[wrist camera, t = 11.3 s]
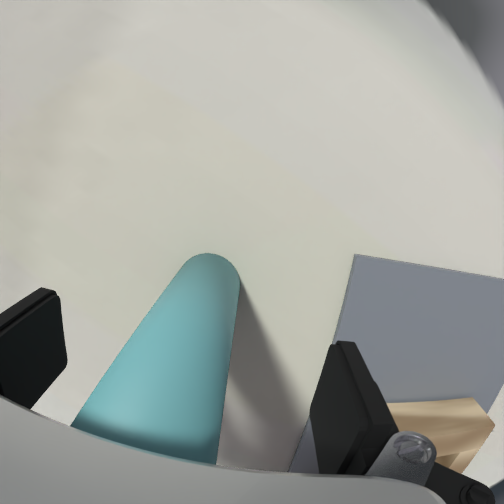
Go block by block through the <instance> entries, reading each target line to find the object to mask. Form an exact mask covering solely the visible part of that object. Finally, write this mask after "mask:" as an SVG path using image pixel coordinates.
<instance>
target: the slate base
mask: <svg viewBox="0 0 504 504" xmlns="http://www.w3.org/2000/svg"><path fill="white" fill-rule="evenodd" d="M338 340H339V341H351V342H355V343H356V345H357V347H358V349H359V351H360V353H361V355H362V357H363V359H364V361H365V363H366V365H367V368H368V370H369V372H370V374H371V376H372V378H373V380H374V381H375V382H376V383H377V385H378V387H379V389H380V391H381V393H382V395H383V397H384V399H385V401H386V403H406V402H425V401H439V400H451V399H461V398H470V397H473V398H474V399H475V401H476V402H477V403H478V404H479V405H480V407H481V408H482V409H483V410H484V411H485V413H486V414H487V413H488V411H489V410H490V408H491V406H492V404H493V402H494V401H495V399H496V397H497V395H498V393H499V391H500V389H501V387H502V386H503V384H504V279H501V278H495V277H490V276H484V275H478V274H472V273H467V272H461V271H455V270H449V269H443V268H437V267H431V266H425V265H419V264H413V263H407V262H401V261H395V260H389V259H383V258H377V257H371V256H364V255H358V254H354V259H353V263H352V268H351V272H350V277H349V281H348V285H347V289H346V293H345V297H344V301H343V305H342V309H341V313H340V317H339V320H338V324H337V328H336V331H335V335H334V339H333V342H332V344H335V343H336V342H337V341H338ZM288 472H289V473H309V474H319V469H318V463H317V456H316V450H315V444H314V438H313V432H312V426H311V421H310V415H309V418H308V421H307V424H306V426H305V429H304V432H303V435H302V438H301V440H300V443H299V446H298V448H297V451H296V453H295V456H294V459H293V461H292V464H291V466H290V469H289V471H288Z"/></svg>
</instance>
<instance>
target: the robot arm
mask: <svg viewBox="0 0 504 504" xmlns="http://www.w3.org/2000/svg"><path fill="white" fill-rule="evenodd" d="M66 365H67V353H66V346H65V339H64V331H63V323H62V313H61V302H60V298H59V296H57V293H56V292H55V291H53V290H50V289H46V288H42V287H41V288H39V289H38V290H36V291H34V292H33V293H31V294H30V295H28V296H27V297H25V298H24V299H22V300H20V301H19V302H17V303H16V304H14V305H13V306H11V307H10V308H8V309H7V310H5V311H4V312H2V313H1V314H0V504H495V499H494V495H493V493H492V491H491V490H490V489H489V488H488V487H487V486H486V485H484V484H482V483H481V482H478V481H476V480H474V479H471V478H469V477H467V476H465V475H462V474H460V473H458V472H456V471H454V470H452V469H449V468H447V467H445V466H443V465H441V464H439V463H437V462H435V460H436V456H437V451H436V447H435V446H434V444H433V442H432V441H431V440H430V439H428V438H427V437H426V436H424V435H422V434H420V433H417V432H414V431H401V432H399V429H398V427H397V425H396V423H395V421H394V419H393V416H392V414H391V412H390V410H389V408H388V406H387V404H386V401H385V399H384V397H383V395H382V393H381V391H380V389H379V387H378V385H377V383H376V382H375V381H374V380H373V378H372V376H371V374H370V372H369V370H368V368H367V365H366V363H365V361H364V359H363V357H362V355H361V353H360V351H359V349H358V347H357V345H356V343H355V342H351V341H339V340H338V341H337V342H336V343H335V344H331V345H330V347H329V350H328V353H327V356H326V360H325V363H324V366H323V369H322V373H321V376H320V379H319V382H318V385H317V388H316V391H315V394H314V397H313V400H312V403H311V406H310V421H311V426H312V432H313V438H314V444H315V450H316V456H317V463H318V469H319V474H309V473H289V472H274V471H263V470H253V469H244V468H236V467H228V466H221V465H215V464H208V463H202V462H197V461H192V460H186V459H181V458H177V457H172V456H168V455H163V454H159V453H155V452H151V451H147V450H143V449H139V448H135V447H132V446H128V445H125V444H121V443H118V442H115V441H111V440H108V439H105V438H102V437H99V436H96V435H93V434H90V433H87V432H84V431H82V430H79V429H76V428H73V427H71V426H68V425H66V424H63V423H61V422H58V421H56V420H53V419H51V418H48V417H46V416H44V415H41V414H39V413H37V412H34V411H32V410H30V409H31V408H32V407H33V406H34V404H35V403H36V402H37V401H38V399H39V398H40V397H41V396H42V395H43V393H44V392H45V391H46V390H47V389H48V388H49V386H50V385H51V384H52V383H53V382H54V381H55V379H56V378H57V377H58V376H59V375H60V374H61V372H62V371H63V370H64V369H65V368H66Z"/></svg>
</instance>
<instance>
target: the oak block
mask: <svg viewBox="0 0 504 504" xmlns="http://www.w3.org/2000/svg"><path fill="white" fill-rule="evenodd" d="M386 404H387V406H388V408H389V410H390V412H391V414H392V416H393V419H394V421H395V423H396V425H397V427H398V429H399V432H401V431H414V432H417V433H420V434H422V435H424V436H426V437H427V438H428V439H430V440H431V441H432V442H433V444H434V446H435V447H436V451H437V456H436V460H435V462H437V463H439V464H441V465H443V466H445V467H447V468H449V469H452V470H454V471H456V472H458V473H460V474H462V472H463V471H464V470H465V468H466V467H467V466H468V464H469V463H470V462H471V460H472V459H473V458H474V456H475V455H476V453H477V452H478V451H479V449H480V448H481V446H482V445H483V443H484V442H485V440H486V439H487V437H488V436H489V434H490V433H491V431H492V430H493V428H494V427H495V424H494V423H493V421H492V420H491V419H490V418H489V416H488V415H487V414H486V413H485V411H484V410H483V409H482V408H481V407H480V405H479V404H478V403H477V402H476V401H475V399H474V398H473V397H470V398H461V399H451V400H439V401H425V402H406V403H386Z"/></svg>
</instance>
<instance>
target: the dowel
mask: <svg viewBox="0 0 504 504" xmlns="http://www.w3.org/2000/svg"><path fill="white" fill-rule="evenodd" d="M239 290H240V279H239V275H238V273H237V271H236V269H235V267H234V266H233V265H232V264H231V263H230V262H229V261H228V260H227V259H225V258H223V257H221V256H219V255H216V254H210V253H204V254H199V255H196V256H194V257H192V258H190V259H189V260H188V261H187V262H186V263H185V264H184V265H183V266H182V268H181V269H180V270H179V272H178V273H177V274H176V276H175V277H174V278H173V280H172V281H171V282H170V284H169V285H168V286H167V288H166V289H165V290H164V292H163V293H162V294H161V296H160V297H159V299H158V300H157V301H156V303H155V304H154V305H153V307H152V308H151V309H150V311H149V312H148V314H147V315H146V316H145V318H144V319H143V320H142V322H141V323H140V325H139V326H138V327H137V329H136V330H135V332H134V333H133V334H132V336H131V337H130V339H129V340H128V341H127V343H126V344H125V346H124V347H123V349H122V350H121V351H120V353H119V354H118V356H117V357H116V359H115V360H114V361H113V363H112V364H111V366H110V367H109V369H108V370H107V372H106V373H105V375H104V376H103V377H102V379H101V380H100V382H99V383H98V385H97V386H96V388H95V389H94V391H93V392H92V394H91V395H90V397H89V398H88V400H87V401H86V403H85V404H84V406H83V407H82V409H81V410H80V412H79V413H78V415H77V416H76V418H75V419H74V421H73V423H72V424H71V427H73V428H76V429H79V430H82V431H84V432H87V433H90V434H93V435H96V436H99V437H102V438H105V439H108V440H111V441H115V442H118V443H121V444H125V445H128V446H132V447H135V448H139V449H143V450H147V451H151V452H155V453H159V454H163V455H168V456H172V457H177V458H181V459H186V460H192V461H197V462H202V463H208V464H215V465H216V461H217V453H218V446H219V438H220V430H221V423H222V415H223V408H224V400H225V393H226V385H227V378H228V370H229V363H230V356H231V348H232V341H233V334H234V326H235V319H236V312H237V305H238V298H239Z"/></svg>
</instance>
